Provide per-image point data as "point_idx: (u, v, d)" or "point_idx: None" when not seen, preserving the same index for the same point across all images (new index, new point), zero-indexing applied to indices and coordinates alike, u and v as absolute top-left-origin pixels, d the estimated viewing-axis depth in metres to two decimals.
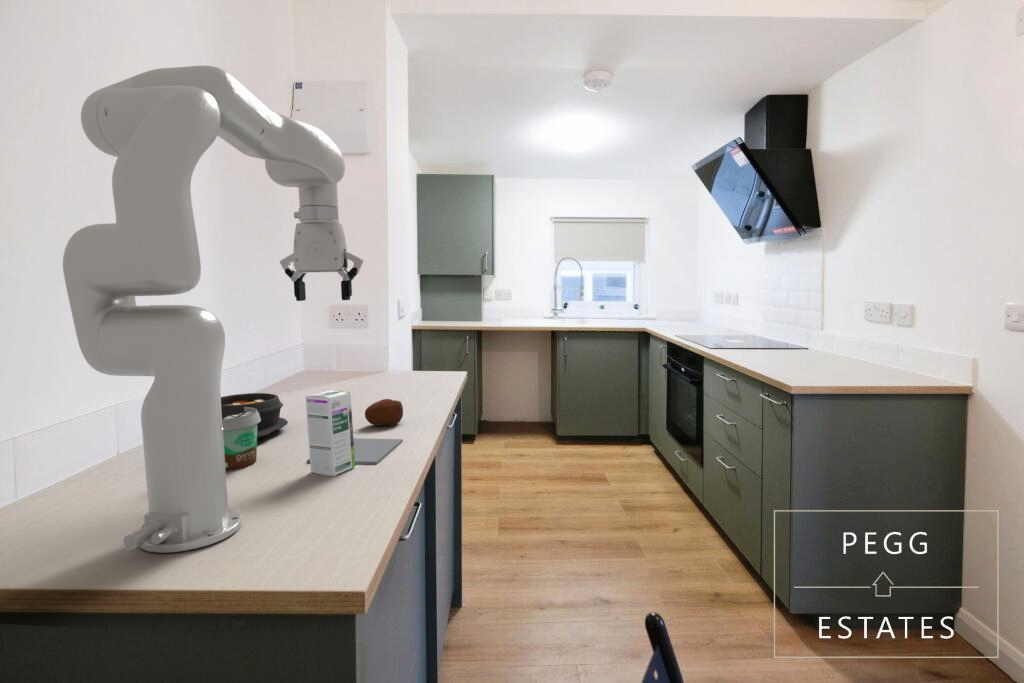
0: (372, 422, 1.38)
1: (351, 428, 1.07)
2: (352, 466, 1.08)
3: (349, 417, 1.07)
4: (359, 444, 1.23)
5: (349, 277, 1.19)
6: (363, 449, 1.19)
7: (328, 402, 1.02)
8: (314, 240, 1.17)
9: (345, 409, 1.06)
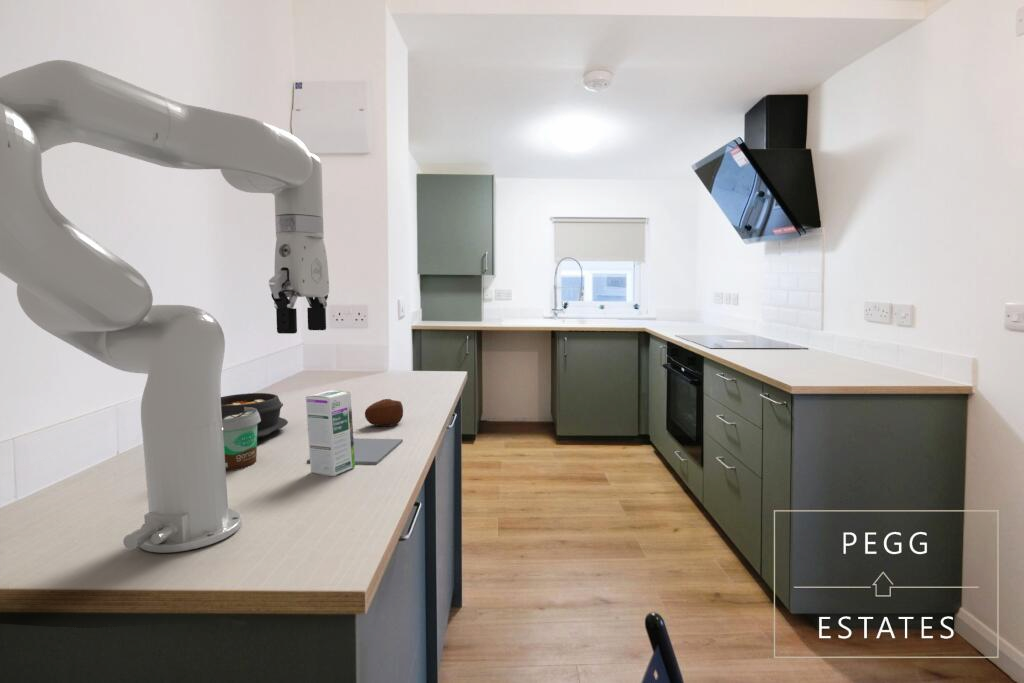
0: (372, 422, 1.38)
1: (351, 428, 1.07)
2: (352, 466, 1.08)
3: (349, 417, 1.07)
4: (359, 444, 1.23)
5: None
6: (363, 449, 1.19)
7: (328, 402, 1.02)
8: (315, 258, 0.97)
9: (345, 409, 1.06)
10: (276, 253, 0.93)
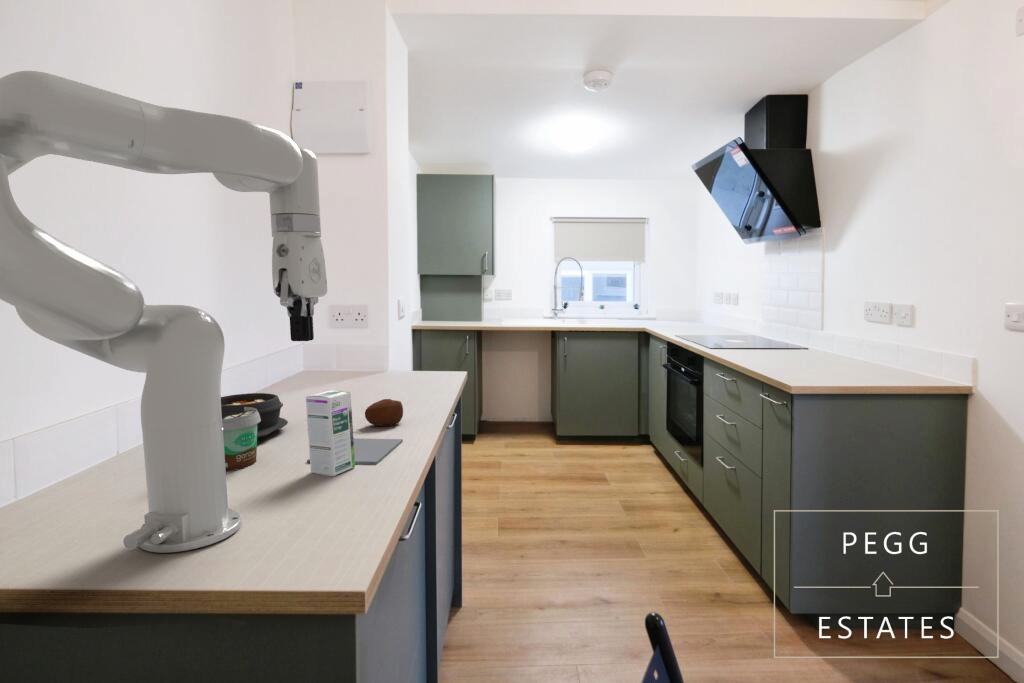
0: (372, 422, 1.38)
1: (351, 428, 1.07)
2: (352, 466, 1.08)
3: (350, 417, 1.07)
4: (359, 444, 1.23)
5: None
6: (363, 449, 1.19)
7: (328, 402, 1.02)
8: (313, 258, 0.94)
9: (345, 409, 1.06)
10: (273, 253, 0.90)
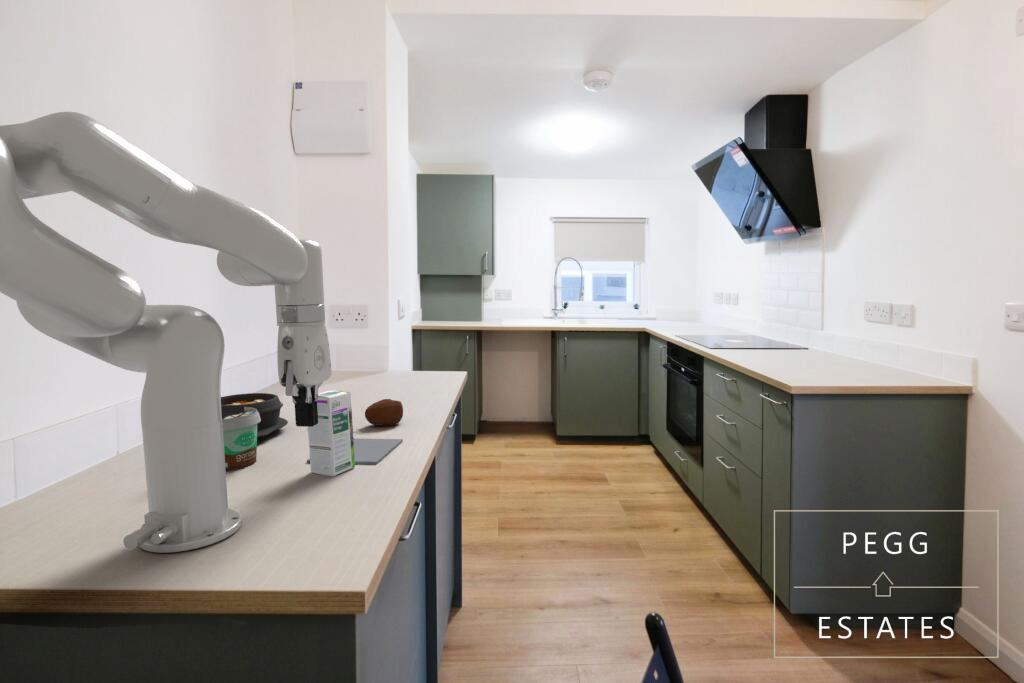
0: (372, 422, 1.38)
1: (351, 428, 1.07)
2: (352, 466, 1.08)
3: (349, 417, 1.07)
4: (359, 444, 1.23)
5: None
6: (363, 449, 1.19)
7: (328, 402, 1.02)
8: (317, 346, 0.95)
9: (345, 409, 1.06)
10: (279, 345, 0.92)
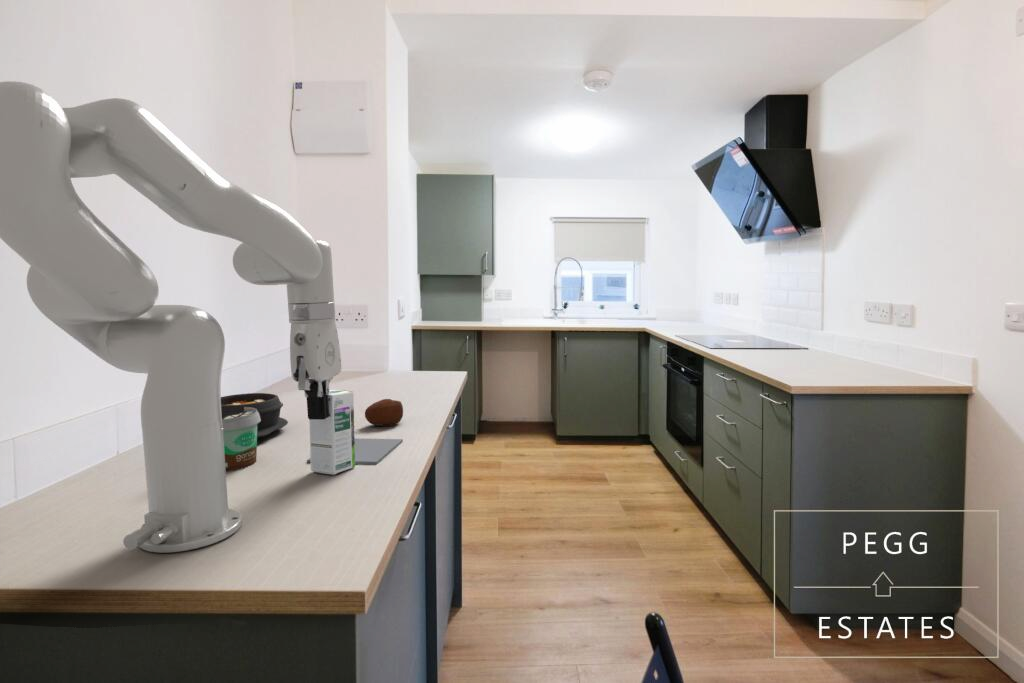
0: (372, 422, 1.38)
1: (353, 427, 1.08)
2: (352, 466, 1.08)
3: (351, 416, 1.07)
4: (359, 444, 1.23)
5: None
6: (363, 449, 1.19)
7: (331, 400, 1.03)
8: (328, 342, 0.99)
9: (347, 408, 1.06)
10: (291, 341, 0.95)
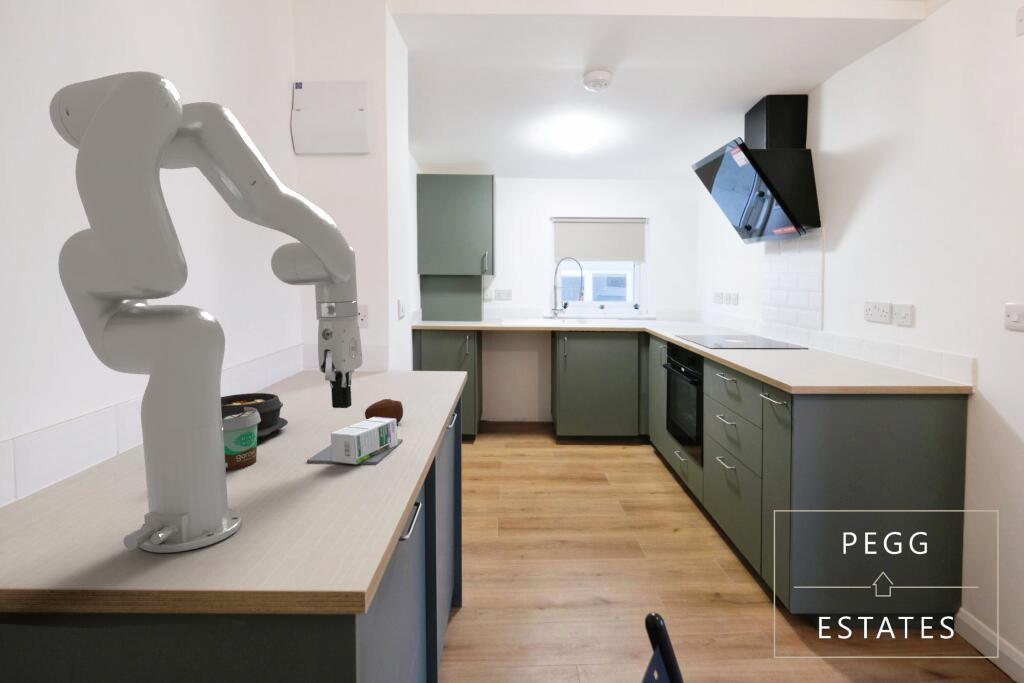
0: None
1: (379, 451, 1.15)
2: (357, 460, 1.09)
3: (385, 447, 1.17)
4: None
5: None
6: None
7: (393, 419, 1.20)
8: (352, 337, 1.09)
9: (389, 439, 1.19)
10: (319, 336, 1.06)
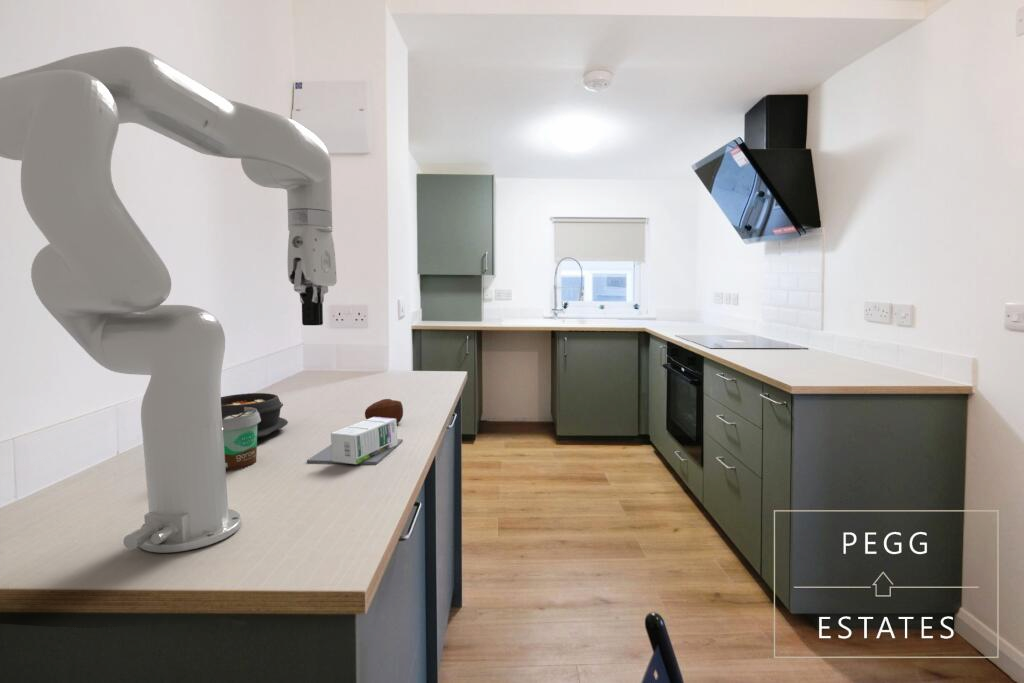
0: None
1: (379, 451, 1.15)
2: (357, 460, 1.09)
3: (385, 447, 1.17)
4: None
5: None
6: None
7: (393, 419, 1.20)
8: (324, 250, 1.04)
9: (389, 439, 1.19)
10: (289, 244, 1.00)
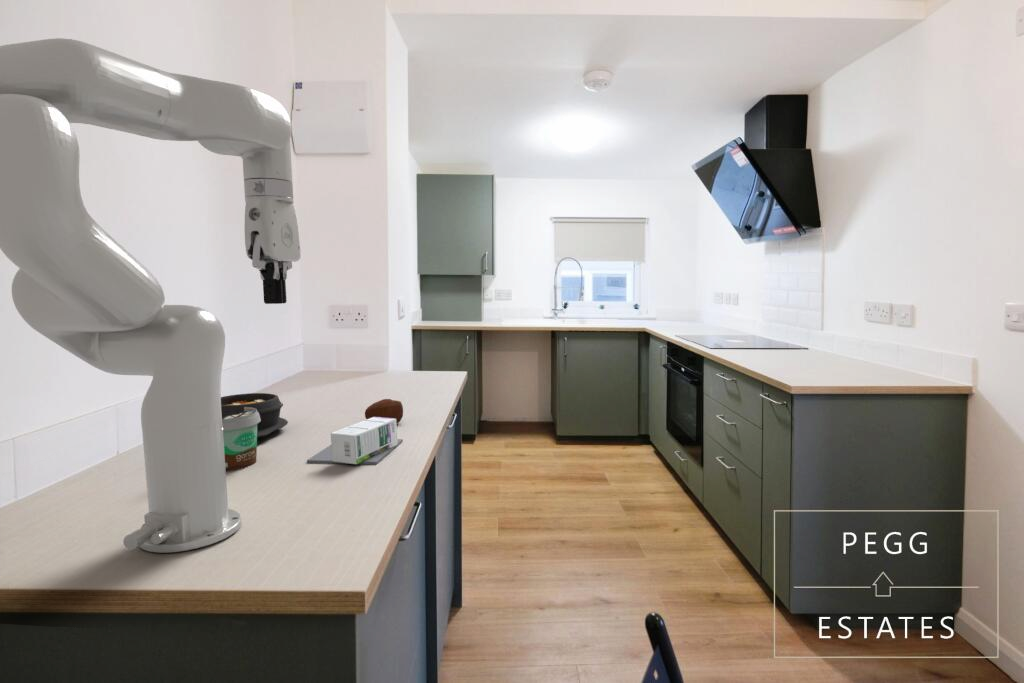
0: None
1: (379, 451, 1.15)
2: (357, 460, 1.09)
3: (385, 447, 1.17)
4: None
5: None
6: None
7: (393, 419, 1.20)
8: (285, 223, 0.97)
9: (389, 439, 1.19)
10: (246, 217, 0.93)
